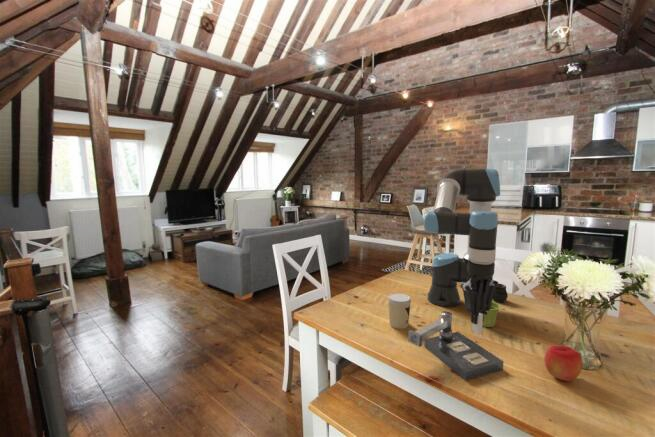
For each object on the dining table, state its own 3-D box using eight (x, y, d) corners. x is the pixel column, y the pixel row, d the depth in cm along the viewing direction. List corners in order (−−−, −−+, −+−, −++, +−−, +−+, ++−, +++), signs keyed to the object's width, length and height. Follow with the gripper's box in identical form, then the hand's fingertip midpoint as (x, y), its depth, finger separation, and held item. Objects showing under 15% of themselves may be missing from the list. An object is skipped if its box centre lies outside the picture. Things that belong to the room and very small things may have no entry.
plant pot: (470, 324, 129) (471, 305, 127) (477, 316, 135) (479, 298, 134) (495, 332, 122) (496, 311, 121) (501, 323, 129) (503, 304, 128)
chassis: (457, 338, 118) (457, 324, 117) (502, 369, 99) (504, 352, 98) (424, 346, 113) (424, 331, 112) (465, 380, 94) (467, 362, 93)
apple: (588, 384, 92) (592, 353, 91) (565, 391, 89) (568, 359, 88) (556, 365, 101) (560, 337, 100) (534, 370, 98) (537, 341, 97)
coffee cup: (411, 330, 124) (411, 302, 123) (387, 328, 126) (387, 301, 124) (409, 320, 133) (410, 293, 132) (387, 318, 135) (388, 292, 133)
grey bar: (443, 325, 115) (443, 310, 114) (454, 329, 112) (455, 314, 111) (408, 344, 103) (408, 327, 102) (419, 350, 99) (419, 332, 98)
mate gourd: (507, 299, 154) (508, 280, 152) (506, 305, 147) (508, 285, 146) (490, 296, 157) (492, 277, 156) (489, 302, 151) (491, 282, 149)
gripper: (487, 255, 101) (482, 323, 104) (455, 260, 97) (451, 330, 100) (507, 261, 94) (502, 334, 97) (473, 266, 90) (469, 342, 93)
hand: (476, 332), depth 99 cm, fingers closed
